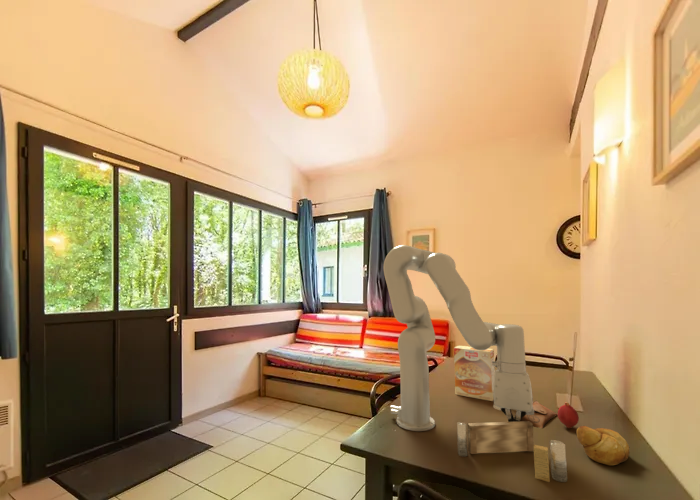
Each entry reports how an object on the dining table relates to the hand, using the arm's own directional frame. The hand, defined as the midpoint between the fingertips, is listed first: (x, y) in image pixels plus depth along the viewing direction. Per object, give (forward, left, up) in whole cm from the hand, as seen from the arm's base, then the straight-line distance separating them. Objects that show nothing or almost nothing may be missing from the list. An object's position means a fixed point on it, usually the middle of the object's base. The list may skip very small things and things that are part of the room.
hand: (514, 432), depth 97 cm
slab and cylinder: (+9, -14, -4) cm, 17 cm away
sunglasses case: (+5, +26, -4) cm, 27 cm away
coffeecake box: (-18, +40, -4) cm, 44 cm away
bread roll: (+22, +5, -4) cm, 23 cm away
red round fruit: (+14, +22, -4) cm, 26 cm away
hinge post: (-12, -13, -4) cm, 18 cm away
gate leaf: (-3, -7, -3) cm, 8 cm away
